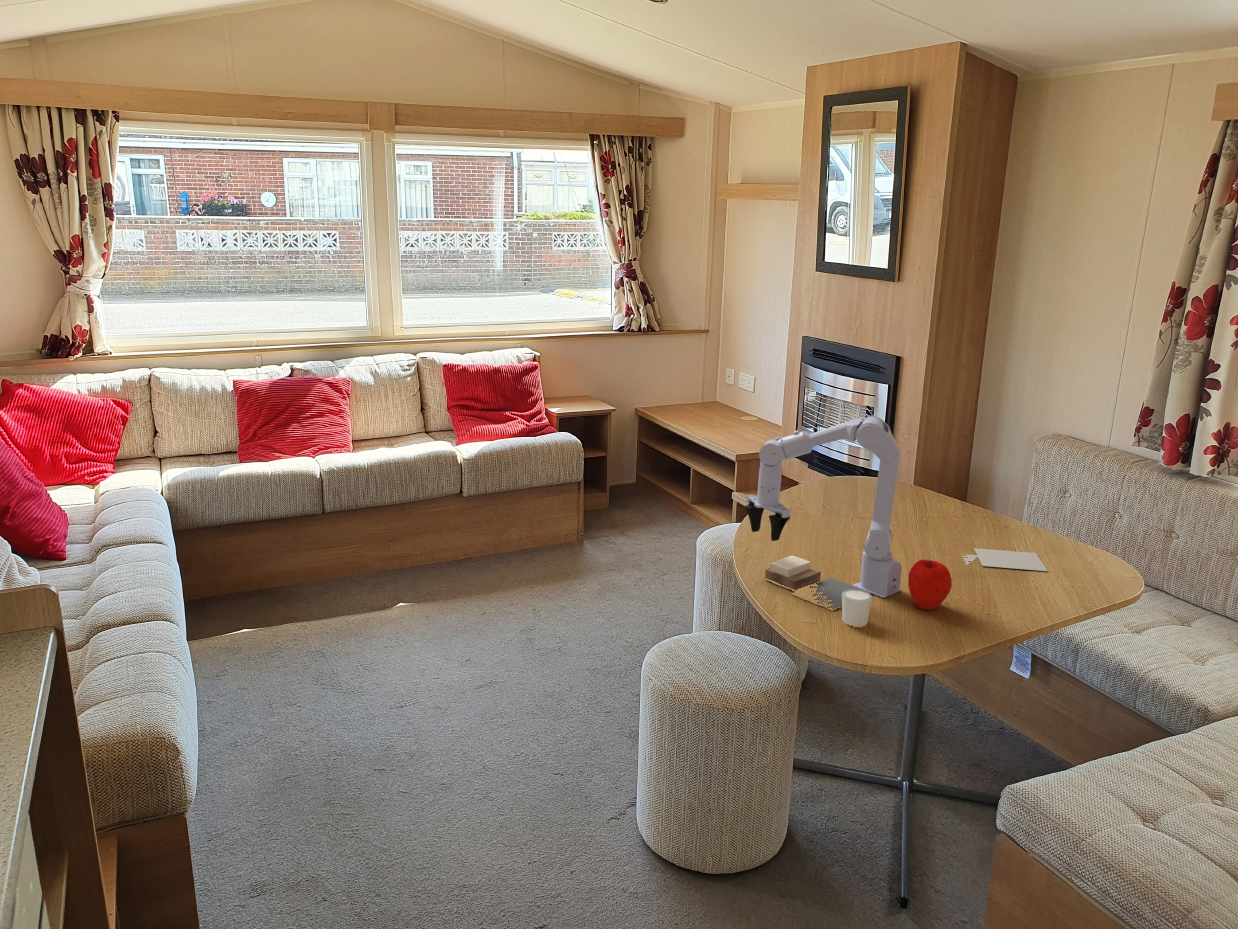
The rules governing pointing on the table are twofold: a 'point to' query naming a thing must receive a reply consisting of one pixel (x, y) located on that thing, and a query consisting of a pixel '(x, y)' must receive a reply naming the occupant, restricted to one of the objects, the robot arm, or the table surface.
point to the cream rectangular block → (790, 566)
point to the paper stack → (1007, 559)
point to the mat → (833, 591)
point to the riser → (795, 578)
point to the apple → (929, 583)
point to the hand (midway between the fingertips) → (765, 535)
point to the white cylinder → (856, 607)
